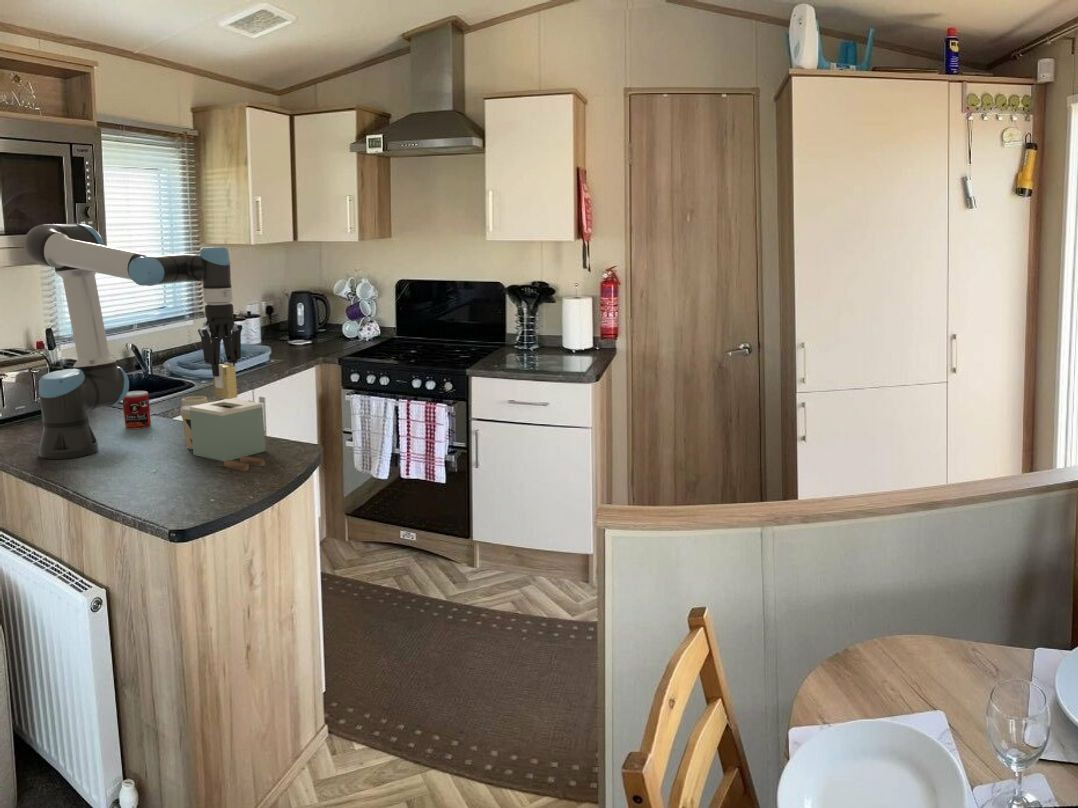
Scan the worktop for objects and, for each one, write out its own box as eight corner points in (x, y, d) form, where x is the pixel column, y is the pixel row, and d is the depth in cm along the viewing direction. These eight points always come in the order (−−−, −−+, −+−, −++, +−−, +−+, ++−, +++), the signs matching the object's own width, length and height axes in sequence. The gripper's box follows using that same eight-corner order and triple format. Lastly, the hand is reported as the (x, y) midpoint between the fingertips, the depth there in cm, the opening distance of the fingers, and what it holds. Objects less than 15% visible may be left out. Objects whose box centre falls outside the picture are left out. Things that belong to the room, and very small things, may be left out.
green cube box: (225, 461, 253) (221, 412, 250) (193, 454, 260) (189, 406, 258) (265, 450, 264) (262, 403, 262) (233, 444, 272) (230, 398, 269)
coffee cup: (185, 451, 264) (182, 411, 261) (182, 444, 272) (179, 405, 269) (219, 448, 268) (216, 408, 265) (215, 441, 276) (212, 402, 273)
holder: (243, 471, 244) (243, 465, 243) (224, 466, 248) (223, 461, 248) (264, 465, 249) (264, 459, 249) (245, 460, 254) (244, 455, 253)
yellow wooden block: (228, 399, 256) (226, 367, 254) (214, 396, 259) (212, 365, 258) (237, 397, 259) (235, 365, 257) (223, 395, 262) (221, 364, 260)
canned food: (123, 429, 291) (120, 396, 289) (127, 424, 299) (124, 391, 296) (149, 428, 293) (146, 394, 291) (152, 422, 301) (149, 390, 298)
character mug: (192, 445, 270) (189, 401, 268) (174, 443, 273) (171, 400, 271) (219, 437, 280) (216, 396, 278) (201, 436, 283) (198, 394, 281)
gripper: (202, 306, 245) (209, 392, 250) (251, 301, 258) (256, 383, 263) (185, 305, 249) (192, 389, 254) (233, 300, 262) (239, 381, 267)
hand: (225, 386), depth 258 cm, fingers closed on yellow wooden block, 3 cm apart
